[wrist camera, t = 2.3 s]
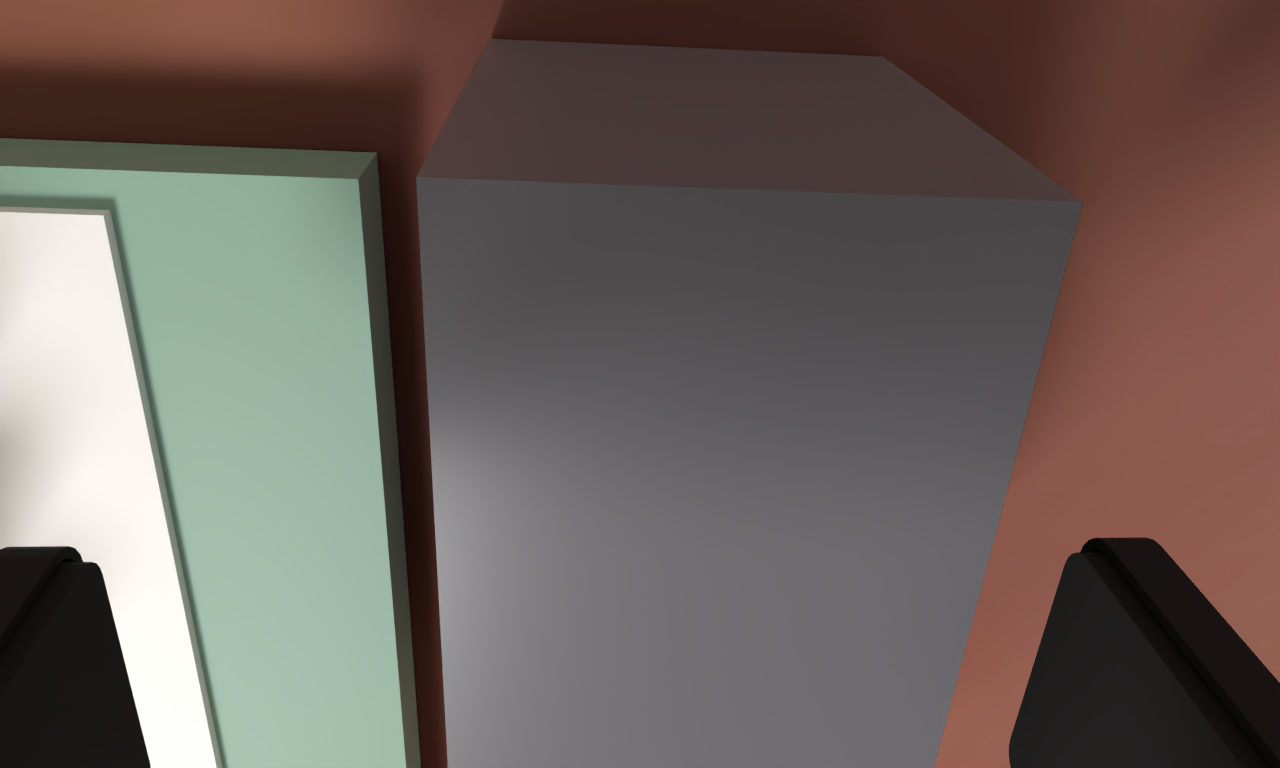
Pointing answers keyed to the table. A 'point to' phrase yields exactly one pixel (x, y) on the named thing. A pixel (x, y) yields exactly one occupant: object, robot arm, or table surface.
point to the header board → (215, 437)
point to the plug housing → (719, 402)
